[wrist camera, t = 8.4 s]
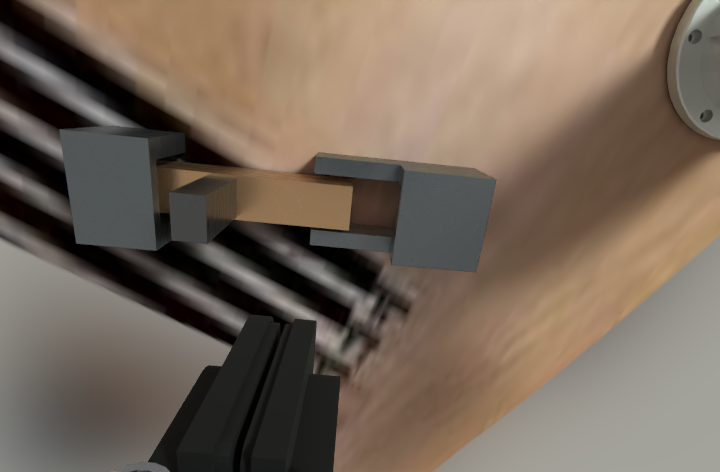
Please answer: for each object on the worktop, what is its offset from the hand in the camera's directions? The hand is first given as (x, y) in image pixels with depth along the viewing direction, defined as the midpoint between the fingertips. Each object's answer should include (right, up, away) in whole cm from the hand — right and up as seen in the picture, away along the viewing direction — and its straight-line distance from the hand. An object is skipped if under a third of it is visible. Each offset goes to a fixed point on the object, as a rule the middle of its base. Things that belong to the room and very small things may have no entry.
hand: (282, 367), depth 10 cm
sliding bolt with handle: (-7, +7, +19) cm, 22 cm away
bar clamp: (-3, +7, +20) cm, 21 cm away
